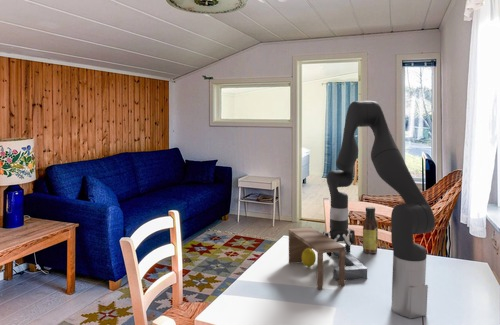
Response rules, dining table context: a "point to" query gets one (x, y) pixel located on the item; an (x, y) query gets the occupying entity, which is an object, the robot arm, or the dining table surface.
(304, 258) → the lemon
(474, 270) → the dining table surface
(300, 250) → the small wooden stool
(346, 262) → the crook tool
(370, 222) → the sauce bottle
